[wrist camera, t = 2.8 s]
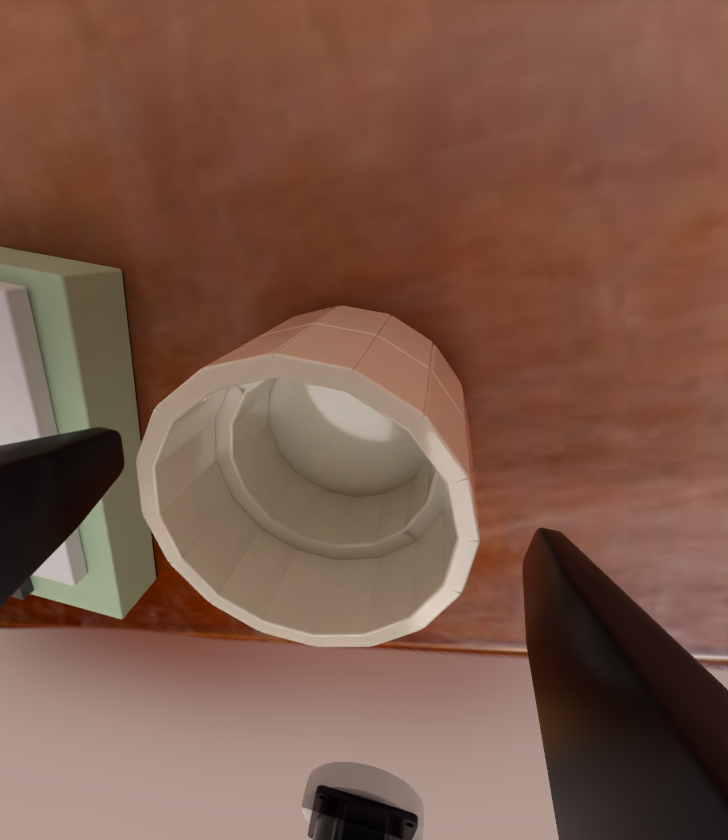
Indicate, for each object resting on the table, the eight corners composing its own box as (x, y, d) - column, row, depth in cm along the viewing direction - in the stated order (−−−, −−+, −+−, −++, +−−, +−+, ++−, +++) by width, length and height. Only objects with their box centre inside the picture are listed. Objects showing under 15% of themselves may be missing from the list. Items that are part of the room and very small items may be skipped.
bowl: (437, 526, 13) (432, 680, 9) (247, 482, 14) (151, 603, 9) (494, 328, 10) (529, 404, 6) (252, 284, 11) (117, 322, 6)
